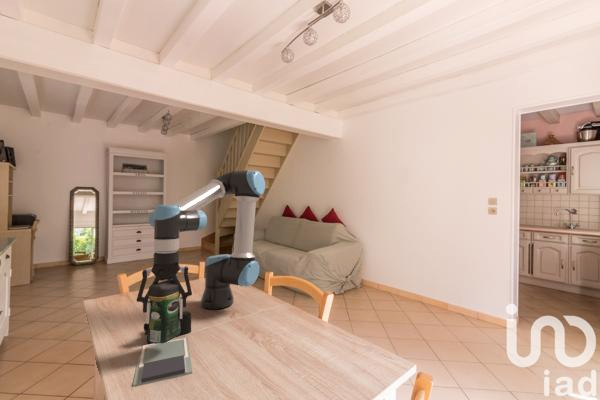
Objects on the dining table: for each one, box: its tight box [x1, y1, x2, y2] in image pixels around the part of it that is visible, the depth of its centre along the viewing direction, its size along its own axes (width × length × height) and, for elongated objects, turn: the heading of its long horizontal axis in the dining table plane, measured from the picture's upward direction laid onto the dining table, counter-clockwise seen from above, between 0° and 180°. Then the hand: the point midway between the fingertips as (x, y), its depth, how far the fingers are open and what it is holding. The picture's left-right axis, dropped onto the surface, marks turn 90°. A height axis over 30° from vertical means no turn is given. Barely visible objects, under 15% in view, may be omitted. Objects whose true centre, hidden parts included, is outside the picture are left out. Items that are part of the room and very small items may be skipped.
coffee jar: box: [148, 279, 181, 344], centre depth 92 cm, size 10×8×19 cm
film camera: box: [143, 310, 192, 345], centre depth 103 cm, size 18×12×10 cm
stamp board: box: [132, 337, 193, 387], centre depth 88 cm, size 15×22×1 cm
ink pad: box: [140, 355, 187, 383], centre depth 82 cm, size 12×8×1 cm
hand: (164, 319), depth 92 cm, fingers closed on coffee jar, 9 cm apart
